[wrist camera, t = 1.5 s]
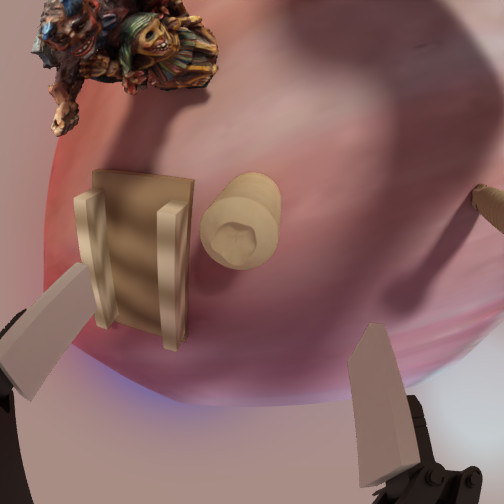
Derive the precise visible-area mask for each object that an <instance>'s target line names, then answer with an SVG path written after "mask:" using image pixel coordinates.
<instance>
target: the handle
mask: <svg viewBox="0 0 504 504" xmlns="http://www.w3.org/2000/svg"><path fill="white" fill-rule="evenodd" d="M472 195H473V197H472V206H473V207H474V208H475V209H476V210H477V211H478V210H479V212H480V213H481V215H482V216H483V217H484V218H485V219H486V220H487V221H488V222H490V223H491V224H492V225H493V226H494V227H495V228H497V229H498V230H499V231H501V232H502V233H503V234H504V191H502V190H499V189H496V188H493V187H487V185H485V184H479V185H478V186H477V188H475V189H473V191H472Z"/></svg>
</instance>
